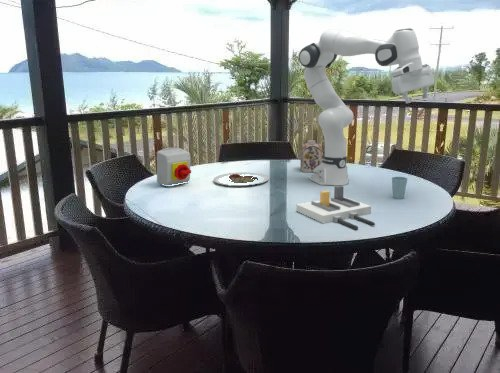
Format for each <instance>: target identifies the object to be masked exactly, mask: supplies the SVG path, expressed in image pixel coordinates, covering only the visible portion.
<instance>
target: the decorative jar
mask: <svg viewBox="0 0 500 373" xmlns="http://www.w3.org/2000/svg"><path fill="white" fill-rule="evenodd" d="M322 156H323V147H322V144H321V143H318V142H316V140H307V142H305V143H301V145H300V170H301V172H302V171H303V172H302V173H314V169H315V168H316V167H317V166H319V165H320V164H321V163H322V160H323V159H321V158H323V157H322Z"/></svg>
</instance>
